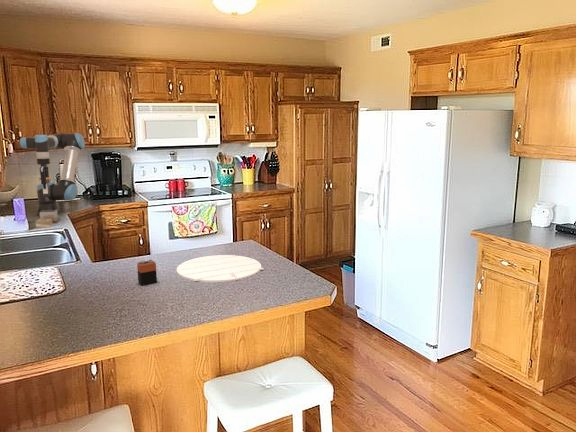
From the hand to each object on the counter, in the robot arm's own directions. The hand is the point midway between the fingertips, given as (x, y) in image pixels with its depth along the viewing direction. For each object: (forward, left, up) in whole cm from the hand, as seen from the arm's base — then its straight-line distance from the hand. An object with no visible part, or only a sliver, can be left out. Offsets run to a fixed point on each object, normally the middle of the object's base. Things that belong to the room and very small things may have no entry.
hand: (46, 193), depth 320 cm
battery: (+146, +70, -20) cm, 163 cm away
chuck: (0, 0, -20) cm, 20 cm away
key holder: (+14, 0, -20) cm, 24 cm away
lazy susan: (+133, +102, -21) cm, 169 cm away
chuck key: (0, 0, -6) cm, 6 cm away
